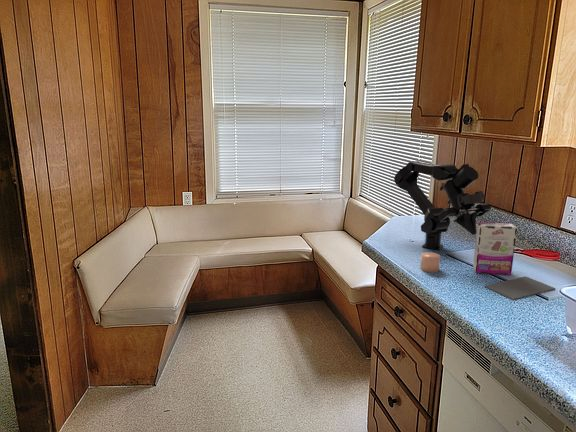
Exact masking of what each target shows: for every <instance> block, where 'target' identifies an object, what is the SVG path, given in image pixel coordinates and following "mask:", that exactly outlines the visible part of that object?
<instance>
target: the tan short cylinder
mask: <svg viewBox="0 0 576 432" xmlns="http://www.w3.org/2000/svg"><path fill="white" fill-rule="evenodd" d="M440 260H441V254H438V253H435V252H429V251H428V252H426V251H425V252H422V253H421V256H420V270H421V271H423V272H426V273H437V272H439V270H440V263H441V261H440Z"/></svg>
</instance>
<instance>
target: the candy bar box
mask: <svg viewBox="0 0 576 432" xmlns="http://www.w3.org/2000/svg"><path fill="white" fill-rule="evenodd" d="M517 231H518V227H517V226H515V224H514V223H503V222H502V223H501V222H500V223H499V222H497V223H496V222H477V223H476V234H475V243H474V244H475V245H474V251H473V263H472V270H473V271H474V272H475V273H476V274H486V275H487V274H488V275H501V274H503V275H505V276H506V275H508V276H511V275H512V273H513V272H512V270H513V264H514V263H513V262H514V255H515V247H516V239H517Z"/></svg>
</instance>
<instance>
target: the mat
mask: <svg viewBox="0 0 576 432" xmlns="http://www.w3.org/2000/svg"><path fill="white" fill-rule="evenodd" d="M483 287H484V288H486V289H488V290H490V291H492V292H494V293H496V294H498V295H500V296H503V297H505V298H507V299H510V300H512V301H515V300H519V299H524V298H527V297H531V296H535V295H539V294H543V293H546V291H547V292H550V291H555V290H556V287H553V286H551V285H548V284H546V283H543V282H541V281H538V280H536V279H534V278H531V277H529V276H526V275H525V276H521V277H516V278H513V279H512V278H511V279H508V280H503V281H499V282H494V283H490V284H486V285H484V286H483ZM542 292H543V293H542Z"/></svg>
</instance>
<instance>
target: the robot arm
mask: <svg viewBox="0 0 576 432" xmlns="http://www.w3.org/2000/svg"><path fill="white" fill-rule="evenodd" d="M420 174H425V175H428V176H431V177H432V178H433V179H435V180H437V181H442V182H443V181H445V182H443V183H441V185H440V188H439V191H441V192H442V191H444V192H445V194H446V196H447V198H448V201H447V204H448V205H451V206H452V207H446V208H443V207H436V206H434V204H433V202H431V200H429V198H428V197H427V195H426V194H425V192H424V191H423V190H422V188H421V187H420V186H419V185H418V178H419V176H420ZM478 178H479V173H478V171H477V170H476V169H475V168H473V167H472V166H470V165H469V163H463V164H462V165H461V166H460V167H459V168H458V167H457V166H456V165H455V164H453V163H451V164H450V163H449V164H433V163H427V162H422V161H419V160H416V161H409V162H407V164H405V166H403V167H402V168H401V169H399V170H398V171H397V172H396V174H395V175H394V179H393V180H394V184H395V185H396V186H397V187H398V188H399V189H401V190H403V191H405V192H407V193H408V195H409V196H410V197H411V199H412V201H414V203H415V204H416V205H417V207H418V208H419V210H420V211H421V213H422V214H423V215H424V218H423V219H424V220H423V223H422V224H421V225H420V232H423V233H424V234H425V238H424V239H425V242H424V243H423V244H422V246H421V247H422V248H426V249H432V250H437V251H439V250H440V249H441V248H443V246H444V244H443V243H441V241H442V233H446V232H447V231H448V230H449V226H450V224H451V218H450V217H455V219H454V220H453V223H457V224H458V225H460V226H461V227H462V228H463V229H464V230H466V231H467V232H469V233H470V234H471V235H472V236H476V231H477V223H476V221H477V220H476V219H477V218H479V217H483V216H484V215H486V214H487V213H488V212H490V211H491V210H492V207H491V205H490V204H489V203H483V201H484V200H485V198H486V197H485V193H484V192H483V190H478V191H475V192H474V193H473V194H469V193H468V192H465V190H464V189H466V188H468V187H469V186H470V185H471V184H473V183H474V182H475V181H476V180H477V179H478ZM478 203H479V204H478ZM476 204H477V205H476Z"/></svg>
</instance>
